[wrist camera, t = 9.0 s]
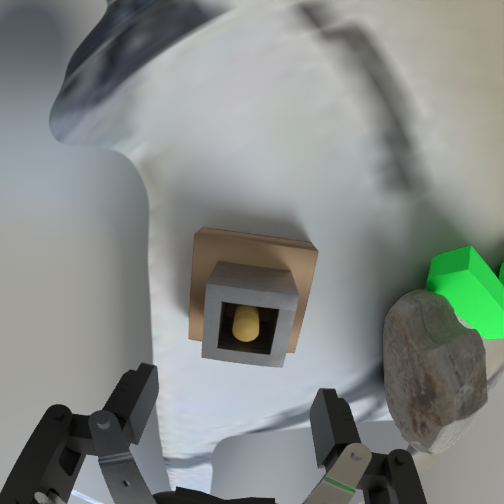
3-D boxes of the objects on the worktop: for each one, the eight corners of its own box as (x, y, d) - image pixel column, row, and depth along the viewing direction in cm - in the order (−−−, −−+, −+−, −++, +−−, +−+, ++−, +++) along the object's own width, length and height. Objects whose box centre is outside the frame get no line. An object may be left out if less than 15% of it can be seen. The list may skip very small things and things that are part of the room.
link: (217, 260, 22) (206, 283, 17) (291, 270, 22) (299, 295, 17) (211, 324, 24) (201, 357, 19) (278, 333, 24) (282, 367, 19)
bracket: (494, 279, 29) (529, 272, 22) (484, 338, 27) (523, 337, 20) (428, 206, 27) (473, 185, 20) (414, 280, 24) (469, 269, 17)
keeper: (202, 227, 24) (176, 249, 17) (311, 242, 24) (334, 271, 17) (195, 323, 27) (174, 372, 19) (291, 336, 27) (300, 388, 19)
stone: (418, 390, 30) (461, 463, 15) (375, 406, 30) (408, 490, 16) (432, 271, 25) (524, 337, 10) (377, 288, 26) (459, 379, 11)
